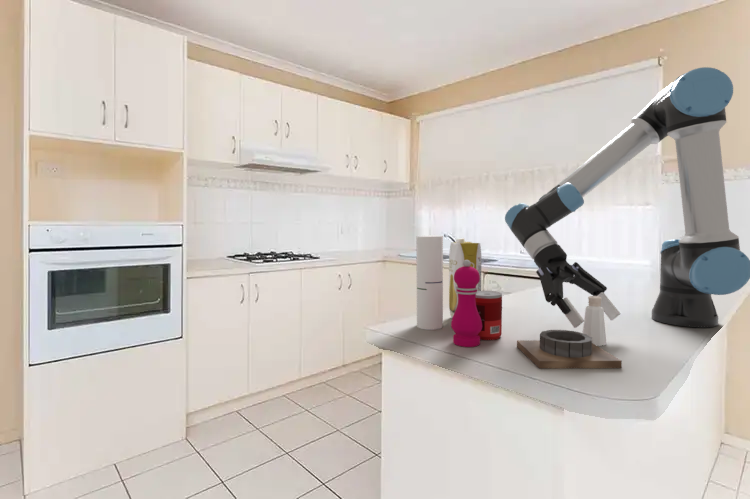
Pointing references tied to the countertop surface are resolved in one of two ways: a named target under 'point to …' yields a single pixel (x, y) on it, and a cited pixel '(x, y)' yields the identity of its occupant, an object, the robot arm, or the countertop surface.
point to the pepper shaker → (595, 321)
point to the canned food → (490, 314)
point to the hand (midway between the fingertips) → (598, 320)
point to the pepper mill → (466, 307)
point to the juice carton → (456, 258)
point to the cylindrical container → (429, 282)
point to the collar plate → (565, 361)
